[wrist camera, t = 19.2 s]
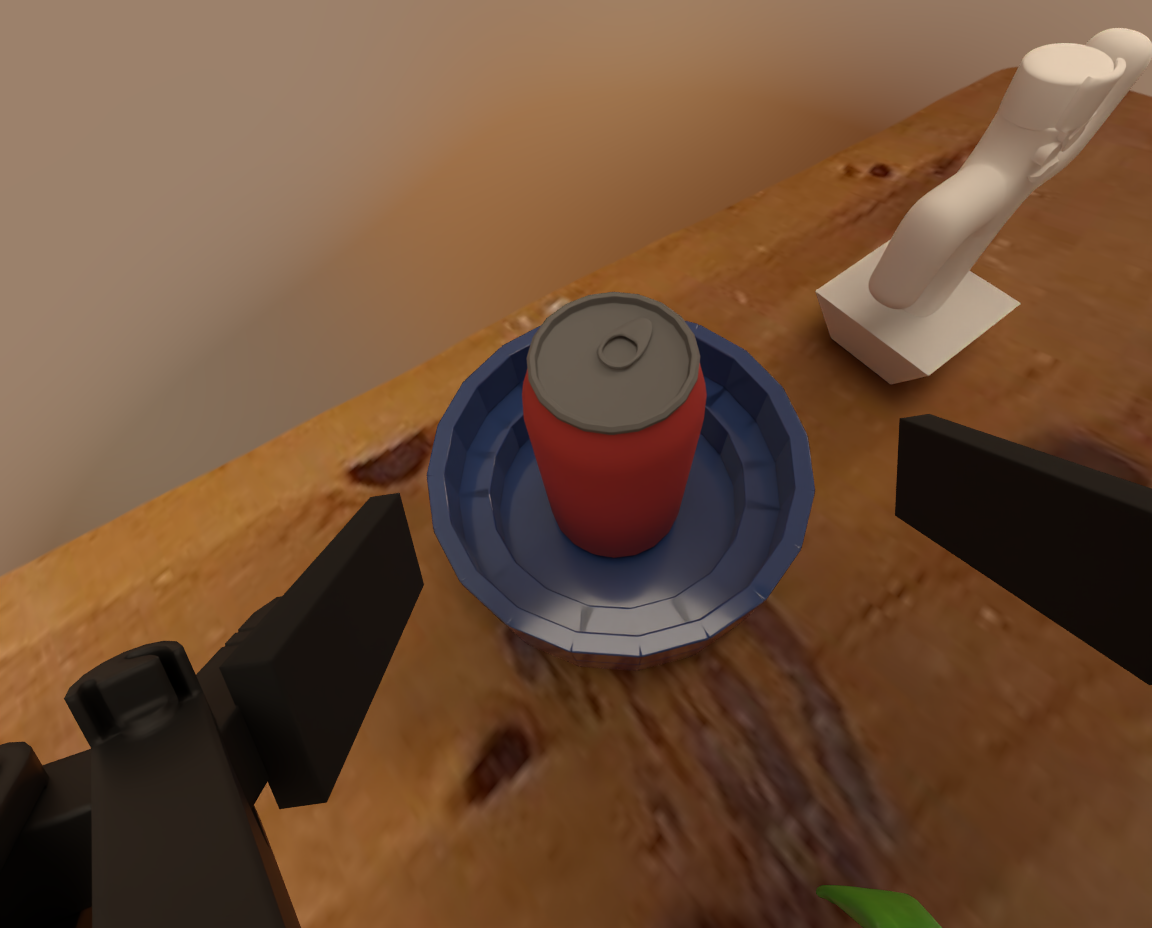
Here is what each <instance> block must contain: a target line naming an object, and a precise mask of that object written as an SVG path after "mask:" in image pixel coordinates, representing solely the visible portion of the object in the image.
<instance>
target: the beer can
mask: <svg viewBox="0 0 1152 928" xmlns="http://www.w3.org/2000/svg"><path fill="white" fill-rule="evenodd" d="M706 397H707V393H706V385H705V380H704V377H703V373H702V369H701V365H700V353H699V349H698V346H697V342H696V338H695V335H694V334H693V332H692V331H691V329H690V328H689V327H688V325H687V324H686V323H685V321H684V320H683V318H682V317H681V316H680V315H678V314H677V313H675V312H674V311H673V310H671V309H670V308H669V307H667V306H666V305H664V304H663V303H661V302H658V301H656V300H653V299H650V298H647V297H645V296H642V295H639V294H630V293H620V292H609V293H601V294H594V295H588V296H585V297H583V298H580V299H578V300H575V301H573V302H570V303H568V304H565V305H564V306H563V307H561V308H560V309H559V310H557V311H556V312H555V313H553V314H552V315H550V316H549V317H548V318H546V320H545V321H544V322H543V324H542V325H541V326H540V328H539V329H538V331H537V332H536V333H535V335H534V336H533V338H532V341H531V345H530V348H529V351H528V355H527V372H526V375H525V379H524V382H523V389H522V402H523V415H524V421H525V425H526V428H527V431H528V434H529V438H530V441H531V444H532V447H533V451H534V454H535V457H536V460H537V464H538V467H539V470H540V474H541V477H542V480H543V483H544V487H545V490H546V493H547V496H548V500H549V503H550V506H551V509H552V513H553V515H554V517H555V519H556V521H557V523H558V526H559V528H560V530H561V531H562V532H563V533H564V534H565V535H566V536H567V537H568V538H569V539H570V540H571V541H572V542H573V543H574V544H575V545H577V546H578V547H580V548H582V549H584V550H586V551H588V552H590V553H592V554H595V555H601V556H606V557H612V558H617V557H624V556H632V555H637V554H639V553H641V552H643V551H645V550H647V549H649V548H651V547H654V546H655V545H656V544H657V543H658V542H659V541H660V540H661V539H662V538H663V537H664V536H666V535H667V534H668V533H669V531H670V529H671V527H672V525H673V523H674V522H675V520H676V518H677V516H678V513H679V509H680V506H681V502H682V498H683V495H684V491H685V487H686V483H687V480H688V476H689V472H690V469H691V465H692V461H693V458H694V454H695V450H696V447H697V443H698V439H699V435H700V432H701V428H702V424H703V421H704V414H705V405H706Z"/></svg>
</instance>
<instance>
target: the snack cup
mask: <svg viewBox="0 0 1152 928" xmlns="http://www.w3.org/2000/svg"><path fill="white" fill-rule="evenodd" d="M816 894H817V895H818V896H819V897H821V898H824V899H827V900H828V901H830V902H831V903H833V904H836V905H838V906H839V907H840V908H841V909H842V910H843V911H844V912H846V913H847V914H848V915H849V916H850V917H851V918H853V919H854V920H855V921H856V922H857V923H858V924H860V925H861V926H862V927H863V928H942V927H941V926H940V925H939V924H938V923H937V922H936V921H935V919H934V918H933V917H932V916H931V914H929V913H928V912H927V911H926V909H925V908H924V907H923V906H922V905H921V904H920V903H919V902H918V901H917V900H916V899H914V898H913V897H912V896H910V895H908V894H905V893H898V892H892V891H886V890H878V889H868V888H859V887H851V886H839V885H822V886H819V887H818V888H817V889H816Z"/></svg>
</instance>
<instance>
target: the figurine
mask: <svg viewBox="0 0 1152 928" xmlns="http://www.w3.org/2000/svg"><path fill="white" fill-rule="evenodd" d="M1151 59H1152V42H1151V41H1150V40H1149V39H1148V38H1147V37H1146V36H1145V35H1143V34H1142V33H1140V32H1137V31H1134V30H1131V29H1125V28H1111V29H1107V30H1104V31H1102V32H1100V33H1098V34H1096V35H1095V36H1093V37H1092V38H1091V39H1090V40H1089V41H1088V42H1087V43H1086V44H1085V45H1080V44H1072V43H1056V44H1049V45H1044V46H1041V47H1038V48H1036V49H1033V50H1031V51H1030V52H1028V53H1027V54H1026V55H1025V56H1024V57H1023V59H1022V61H1021V64H1020V65H1019V67H1018V69H1017V71H1016V73H1015V75H1014V77H1013V79H1012V81H1011V83H1010V85H1009V87H1008V89H1007V91H1006V93H1005V95H1004V97H1003V99H1002V101H1001V104H1000V108H999V110H998V112H997V113H996V115H995V117H994V119H993V120H992V122H991V124H990V125H989V127H988V129H987V130H986V132H985V134H984V135H983V137H982V138H981V140H980V141H979V143H978V144H977V146H976V147H975V149H974V150H973V152H972V153H971V155H970V156H969V157H968V159H967V160H966V162H965V163H964V164H963V166H962V167H961V168H960V170H959V171H958V172H957V173H956V174H955V175H953V176H952V177H950V178H949V179H948V180H946V181H945V182H943V183H942V184H940V185H939V186H937V187H936V188H934V189H933V190H931V191H930V192H928V193H927V194H926V195H924V196H923V197H922V198H921V199H919V200H918V201H917V202H916V203H915V204H914V205H913V207H912V208H911V209H910V210H909V211H908V213H907V214H906V215H905V217H904V218H903V220H902V221H901V223H900V224H899V226H898V228H897V229H896V231H895V233H894V235H893V237H892V239H891V240H889V241H888V242H886V243H885V244H883V245H882V246H880V247H879V248H877V249H876V250H875V251H873V252H872V253H870V254H869V255H867V256H866V257H864V258H863V259H861V260H860V261H858V262H857V263H856V264H854V265H853V266H851V267H850V268H848V269H847V270H845V271H844V272H842V273H841V274H839V275H838V276H837V277H835V278H834V279H832V280H831V281H829V282H828V283H826V284H825V285H823V286H822V287H820V288H819V289H818V290H816V291H815V292H816V295H817V298H818V301H819V304H820V307H821V310H822V313H823V316H824V319H825V322H826V325H827V328H828V331H829V334H830V337H831V338H832V339H833V340H834V341H835V342H837V343H838V344H839V345H840V346H842V347H843V348H844V349H846V350H847V351H848V352H849V353H851V354H852V355H853V356H855V357H856V358H857V359H858V360H860V361H861V362H862V363H864V364H865V365H866V366H867V367H869V368H870V369H871V370H872V371H874V372H875V373H876V374H878V375H879V376H880V377H881V378H883V379H884V380H885V381H887V382H888V383H889V384H890V385H891V384H895V383H900V382H904V381H908V380H913V379H917V378H921V377H926V376H929V375H930V374H932V373H933V372H934V371H935V370H937V369H938V368H939V367H941V366H942V365H943V364H944V363H946V362H947V361H948V360H949V359H951V358H952V357H953V356H955V355H956V354H957V353H958V352H960V351H961V350H962V349H964V348H965V347H966V346H967V345H969V344H970V343H971V342H973V341H974V340H975V339H976V338H978V337H979V336H980V335H981V334H983V333H984V332H985V331H987V330H988V329H989V328H990V327H992V326H993V325H994V324H996V323H997V322H998V321H999V320H1001V319H1002V318H1003V317H1004V316H1006V315H1007V314H1008V313H1010V312H1011V311H1012V310H1013V309H1015V308H1016V307H1017V306H1019V305H1020V304H1021V303H1020V302H1018V301H1017V300H1015V299H1013V298H1012V297H1010V296H1009V295H1007V294H1006V293H1004V292H1002V291H1001V290H999V289H998V288H996V287H995V286H993V285H991V284H990V283H988V282H987V281H985V280H983V279H982V278H980V277H979V276H977V275H976V274H974V273H972V272H971V271H969V270H970V269H971V267H972V266H973V265H974V264H975V262H976V261H977V260H978V258H979V257H980V256H981V254H982V253H983V252H984V250H985V249H986V248H987V246H988V245H989V244H990V242H991V241H992V240H993V239H994V237H995V236H996V235H997V233H998V232H999V231H1000V229H1001V228H1002V227H1003V225H1004V224H1005V223H1006V222H1007V220H1008V219H1009V218H1010V217H1011V216H1012V214H1013V213H1014V212H1015V211H1016V210H1017V208H1018V207H1019V206H1020V205H1021V204H1022V203H1023V202H1024V200H1025V199H1026V198H1027V197H1028V196H1029V195H1030V194H1031V193H1032V192H1033V191H1034V190H1035V189H1036V188H1038V187H1039V186H1041V185H1042V184H1043V183H1045V182H1046V181H1048V180H1049V179H1050V178H1052V177H1053V176H1055V175H1056V174H1057V173H1059V172H1060V171H1061V170H1062V169H1064V168H1065V167H1066V166H1067V165H1068V164H1069V163H1070V162H1071V161H1072V160H1073V159H1074V158H1075V157H1076V156H1077V155H1078V154H1079V153H1080V152H1081V151H1082V149H1083V148H1084V147H1085V146H1086V145H1087V143H1088V142H1089V141H1090V140H1091V138H1092V137H1093V136H1094V134H1095V133H1096V132H1097V131H1098V129H1099V128H1100V127H1101V126H1102V124H1103V123H1104V122H1105V120H1106V119H1107V118H1108V117H1109V115H1110V114H1111V113H1112V112H1113V110H1114V109H1115V108H1116V106H1117V105H1118V104H1119V103H1120V101H1121V100H1122V99H1123V98H1124V96H1125V95H1126V94H1127V93H1128V91H1129V90H1130V89H1131V87H1132V86H1133V85H1134V84H1135V82H1136V81H1137V80H1138V79H1139V77H1140V76H1141V75H1142V73H1143V72H1144V71H1145V69H1146V68H1147V66H1148V65H1149V63H1150V61H1151Z"/></svg>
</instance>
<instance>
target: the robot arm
mask: <svg viewBox="0 0 1152 928" xmlns="http://www.w3.org/2000/svg"><path fill="white" fill-rule="evenodd" d="M895 516H897V517H898V518H900V519H901V520H903V521H904V522H906V523H907V524H909V525H910V526H912V527H913V528H915V529H916V530H918V531H919V532H921V533H922V534H924V535H925V536H927V537H928V538H930V539H931V540H933V541H934V542H936V543H937V544H939V545H940V546H942V547H943V548H945V549H946V550H948V551H949V552H951V553H952V554H954V555H955V556H957V557H958V558H960V559H961V560H963V561H964V562H966V563H967V564H969V565H970V566H972V567H973V568H975V569H976V570H978V571H979V572H981V573H982V574H984V575H985V576H987V577H988V578H990V579H991V580H993V581H994V582H996V583H997V584H999V585H1000V586H1002V587H1003V588H1005V589H1006V590H1008V591H1009V592H1011V593H1012V594H1014V595H1015V596H1017V597H1018V598H1020V599H1021V600H1023V601H1024V602H1026V603H1027V604H1028V605H1030V606H1031V607H1033V608H1034V609H1036V610H1037V611H1039V612H1040V613H1042V614H1043V615H1045V616H1046V617H1048V618H1049V619H1051V620H1052V621H1054V622H1055V623H1057V624H1058V625H1060V626H1061V627H1063V628H1064V629H1066V630H1067V631H1069V632H1070V633H1072V634H1073V635H1075V636H1076V637H1078V638H1079V639H1081V640H1082V641H1084V642H1085V643H1087V644H1088V645H1090V646H1091V647H1093V648H1094V649H1096V650H1097V651H1099V652H1100V653H1102V654H1103V655H1105V656H1106V657H1108V658H1109V659H1111V660H1112V661H1114V662H1115V663H1117V664H1118V665H1120V666H1121V667H1123V668H1124V669H1126V670H1127V671H1129V672H1130V673H1132V674H1133V675H1135V676H1136V677H1138V678H1139V679H1141V680H1142V681H1144V682H1145V683H1147V684H1148V685H1152V489H1151V488H1148V487H1145V486H1142V485H1139V484H1136V483H1133V482H1130V481H1127V480H1124V479H1121V478H1118V477H1115V476H1112V475H1109V474H1106V473H1103V472H1100V471H1097V470H1094V469H1091V468H1088V467H1085V466H1082V465H1079V464H1076V463H1074V462H1071V461H1068V460H1065V459H1062V458H1059V457H1056V456H1053V455H1050V454H1047V453H1044V452H1041V451H1038V450H1035V449H1032V448H1029V447H1026V446H1023V445H1020V444H1017V443H1014V442H1011V441H1008V440H1005V439H1002V438H999V437H996V436H993V435H990V434H987V433H984V432H981V431H978V430H975V429H972V428H969V427H966V426H963V425H960V424H957V423H954V422H951V421H948V420H945V419H942V418H939V417H936V416H933V415H930V414H926V415H920V416H913V417H906V418H900V422H899V443H898V465H897V486H896V507H895ZM423 586H424V583H423V579H422V575H421V572H420V568H419V564H418V560H417V557H416V553H415V549H414V545H413V542H412V538H411V534H410V530H409V527H408V523H407V519H406V515H405V512H404V508H403V504H402V500H401V497H400V493H395V494H388V495H382V496H375V497H370V498H369V500H368V501H367V502H366V503H365V504H364V505H363V506H362V507H361V508H360V510H359V511H358V512H357V513H356V514H355V515H354V516H353V517H352V519H351V520H350V521H349V522H348V523H347V524H346V525H345V526H344V528H343V529H342V530H341V531H340V532H339V533H338V534H337V535H336V537H335V538H334V539H333V540H332V541H331V542H330V543H329V544H328V546H327V547H326V548H325V549H324V550H323V551H322V552H321V553H320V555H319V556H318V557H317V558H316V559H315V560H314V561H313V562H312V564H311V565H310V566H309V567H308V568H307V569H306V570H305V571H304V573H303V574H302V575H301V576H300V577H299V578H298V579H297V580H296V582H295V583H294V584H293V585H292V586H291V587H290V588H289V589H288V591H287V592H286V593H285V594H284V595H283V596H281V597H276V598H275V599H274V600H272V601H271V602H269V603H268V604H266V605H265V606H263V607H262V608H260V609H259V610H257V611H256V612H254V613H253V614H252V615H251V616H250V618H249V619H248V620H247V621H246V622H245V623H244V624H243V625H242V626H241V627H240V628H239V629H238V633H235V634H234V635H233V636H232V637H231V638H230V639H229V640H228V641H227V642H226V643H225V647H222V648H221V649H220V650H219V651H218V652H217V653H216V654H215V655H214V656H213V657H212V658H211V659H210V660H209V662H208V663H207V664H206V665H205V666H204V667H203V668H202V669H201V670H200V671H199V672H198V673H197V674H195V672H194V670H193V668H192V666H191V663H190V661H189V659H188V657H187V654H186V652H185V650H184V648H183V646H182V645H181V644H179V643H178V642H177V641H160V642H156V643H151V644H146V645H143V646H140V647H137V648H134V649H132V650H129V651H126V652H123V653H121V654H119V655H117V656H115V657H113V658H111V659H109V660H107V661H105V662H103V663H101V664H100V665H98V666H97V667H95V668H94V669H92V670H91V671H89V672H88V673H86V674H84V675H83V676H82V677H81V678H80V679H79V680H78V681H77V682H75V683H74V684H73V685H72V686H71V687H70V688H69V690H68V692H67V694H66V696H65V698H64V700H65V701H66V703H67V705H68V707H69V709H70V710H71V712H72V714H73V716H74V718H75V720H76V721H77V723H78V725H79V727H80V729H81V730H82V732H83V734H84V736H85V738H86V740H87V741H88V743H89V745H90V747H91V749H89V750H86V751H83V752H80V753H77V754H75V755H72V756H69V757H66V758H63V759H60V760H57V761H54V762H51V763H48V764H45V765H42V764H41V762H40V761H39V759H38V757H37V756H36V754H35V752H34V751H33V749H32V747H31V746H29V745H28V744H27V743H25V742H9V743H5V744H2V745H0V928H301V926H300V924H299V921H298V918H297V916H296V913H295V910H294V908H293V905H292V902H291V900H290V897H289V894H288V892H287V889H286V886H285V884H284V881H283V878H282V876H281V873H280V870H279V868H278V865H277V862H276V860H275V857H274V854H273V852H272V849H271V846H270V844H269V841H268V838H267V836H266V833H265V830H264V828H263V825H262V822H261V820H260V818H259V815H258V813H257V811H256V809H255V806H254V804H255V802H256V800H257V799H258V797H259V795H260V793H261V792H262V790H263V788H264V787H265V785H266V783H267V781H268V783H269V786H270V788H271V790H272V793H273V795H274V797H275V800H276V802H277V804H278V807H279V809H284V808H291V807H298V806H305V805H312V804H319V803H326V802H327V801H328V798H329V796H330V794H331V792H332V789H333V787H334V785H335V783H336V780H337V778H338V776H339V774H340V772H341V769H342V767H343V765H344V763H345V760H346V758H347V756H348V754H349V751H350V749H351V747H352V745H353V742H354V740H355V738H356V736H357V733H358V731H359V729H360V727H361V724H362V722H363V720H364V718H365V715H366V713H367V711H368V709H369V707H370V704H371V702H372V700H373V698H374V695H375V693H376V691H377V689H378V686H379V684H380V682H381V680H382V677H383V675H384V673H385V671H386V668H387V666H388V664H389V662H390V659H391V657H392V655H393V653H394V650H395V648H396V646H397V644H398V642H399V639H400V637H401V635H402V633H403V630H404V628H405V626H406V624H407V621H408V619H409V617H410V615H411V612H412V610H413V608H414V606H415V603H416V601H417V599H418V597H419V594H420V592H421V590H422V588H423Z"/></svg>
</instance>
